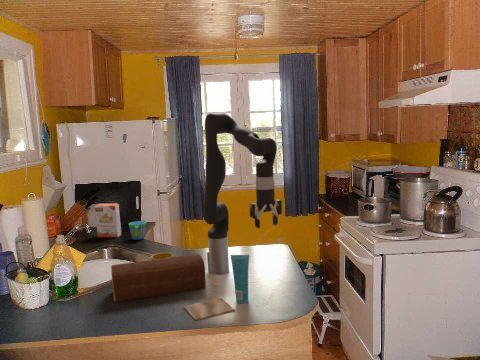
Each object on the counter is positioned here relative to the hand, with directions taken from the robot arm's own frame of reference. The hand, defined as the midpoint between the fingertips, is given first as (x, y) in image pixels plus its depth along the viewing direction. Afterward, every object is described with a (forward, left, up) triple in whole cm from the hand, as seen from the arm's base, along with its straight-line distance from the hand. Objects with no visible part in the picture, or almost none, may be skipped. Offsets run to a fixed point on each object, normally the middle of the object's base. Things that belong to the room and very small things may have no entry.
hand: (266, 226), depth 187 cm
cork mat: (-13, -26, -28) cm, 40 cm away
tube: (-5, -14, -28) cm, 32 cm away
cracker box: (-134, +41, -28) cm, 143 cm away
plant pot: (-54, -3, -28) cm, 61 cm away
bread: (-44, -18, -28) cm, 56 cm away
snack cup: (-112, +43, -28) cm, 123 cm away
